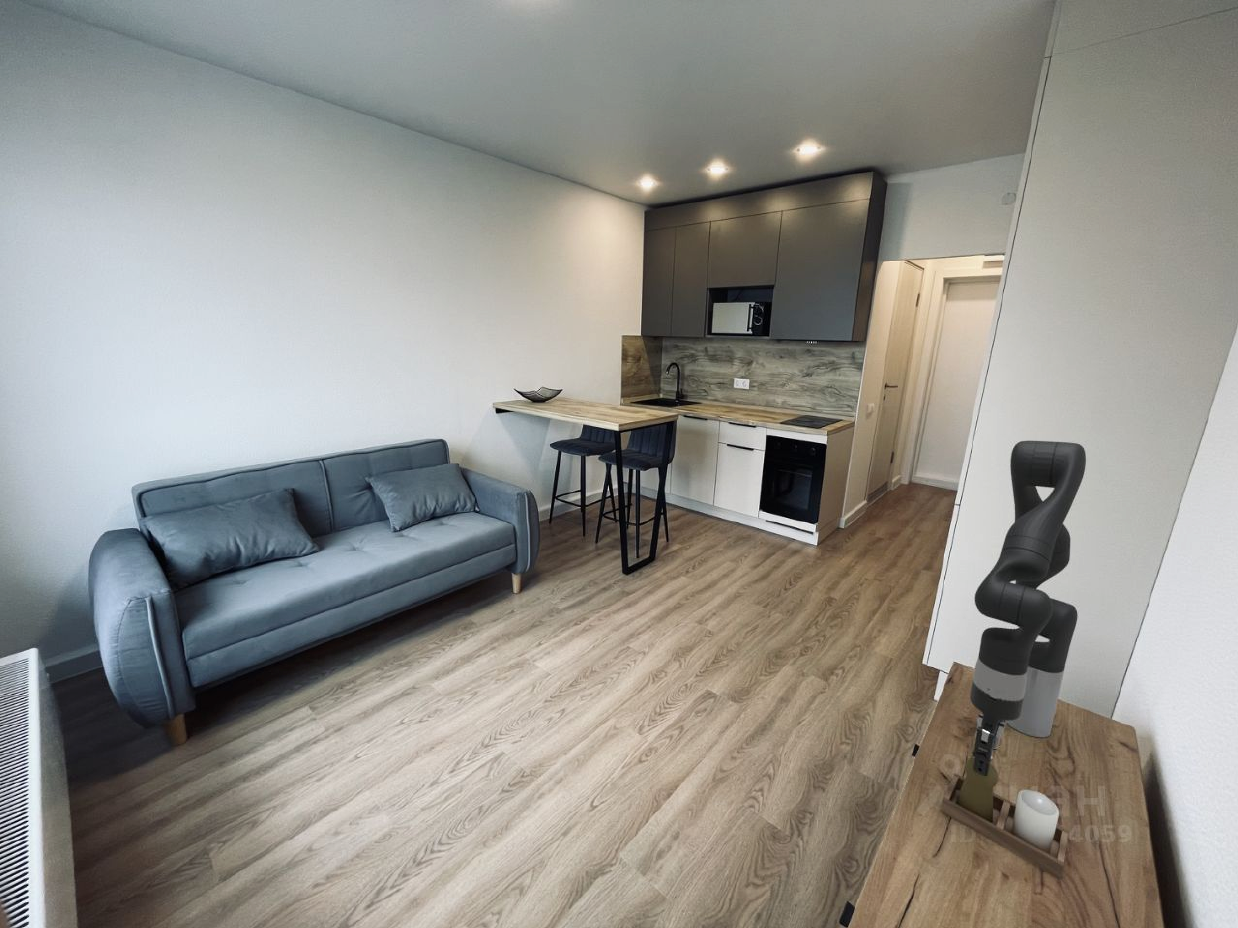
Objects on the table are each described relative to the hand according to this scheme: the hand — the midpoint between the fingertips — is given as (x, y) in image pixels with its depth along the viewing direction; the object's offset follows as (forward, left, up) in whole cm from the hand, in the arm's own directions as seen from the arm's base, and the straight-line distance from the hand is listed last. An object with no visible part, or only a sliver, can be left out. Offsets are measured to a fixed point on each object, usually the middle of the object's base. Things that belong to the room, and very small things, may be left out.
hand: (985, 759), depth 93 cm
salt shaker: (0, +8, -12) cm, 15 cm away
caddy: (0, +4, -13) cm, 13 cm away
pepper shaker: (0, 0, -12) cm, 12 cm away
